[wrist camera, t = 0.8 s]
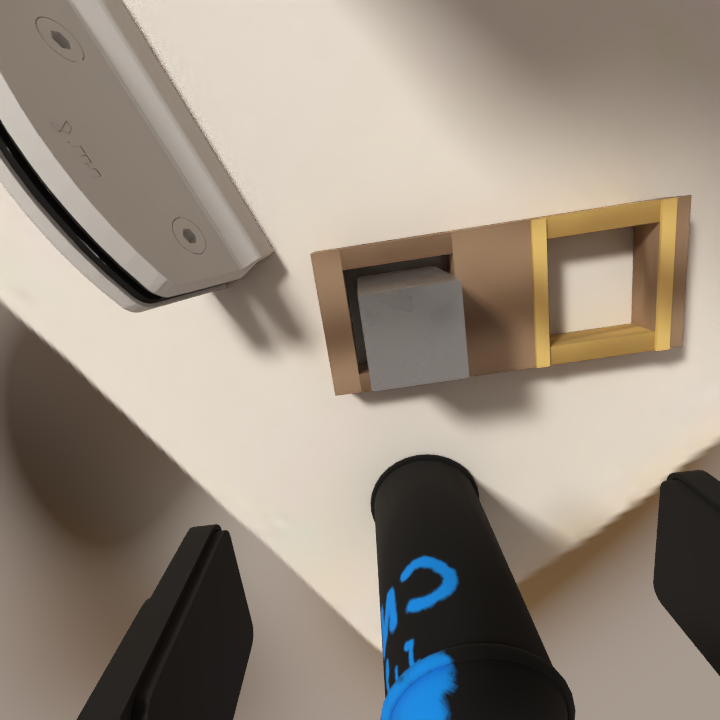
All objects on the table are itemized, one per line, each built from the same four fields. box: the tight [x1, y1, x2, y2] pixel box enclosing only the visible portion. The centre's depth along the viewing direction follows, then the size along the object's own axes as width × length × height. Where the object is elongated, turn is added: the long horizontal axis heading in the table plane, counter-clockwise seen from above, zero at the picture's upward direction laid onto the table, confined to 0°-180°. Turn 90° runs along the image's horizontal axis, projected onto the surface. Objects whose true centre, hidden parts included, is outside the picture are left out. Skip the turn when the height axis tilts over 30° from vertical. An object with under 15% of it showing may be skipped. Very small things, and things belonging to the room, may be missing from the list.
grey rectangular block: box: [358, 266, 469, 392], centre depth 26 cm, size 5×5×8 cm
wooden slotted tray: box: [310, 195, 691, 396], centre depth 28 cm, size 9×22×3 cm, turn 99°
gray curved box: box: [0, 0, 274, 312], centre depth 23 cm, size 17×5×10 cm, turn 30°
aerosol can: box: [371, 454, 575, 720], centre depth 24 cm, size 8×8×20 cm
